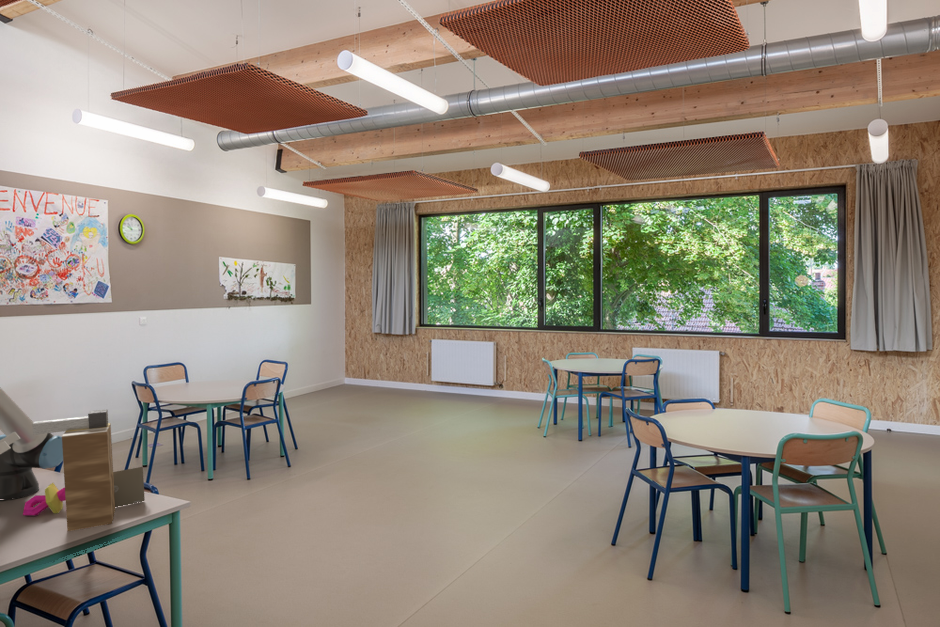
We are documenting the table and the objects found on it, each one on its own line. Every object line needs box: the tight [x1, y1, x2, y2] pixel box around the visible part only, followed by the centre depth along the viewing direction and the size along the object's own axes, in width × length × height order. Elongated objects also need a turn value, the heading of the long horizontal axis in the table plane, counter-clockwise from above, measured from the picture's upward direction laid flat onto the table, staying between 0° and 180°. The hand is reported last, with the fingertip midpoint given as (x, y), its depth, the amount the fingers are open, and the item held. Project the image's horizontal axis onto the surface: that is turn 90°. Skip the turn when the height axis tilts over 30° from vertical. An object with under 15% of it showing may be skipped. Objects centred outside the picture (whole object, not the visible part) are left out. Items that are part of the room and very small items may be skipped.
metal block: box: [33, 409, 109, 435], centre depth 192 cm, size 5×20×5 cm, turn 117°
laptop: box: [113, 466, 145, 507], centre depth 209 cm, size 18×12×13 cm
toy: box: [22, 482, 66, 516], centre depth 203 cm, size 10×18×10 cm
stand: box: [61, 422, 116, 532], centre depth 193 cm, size 13×12×30 cm
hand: (12, 439), depth 186 cm, fingers open, 13 cm apart
